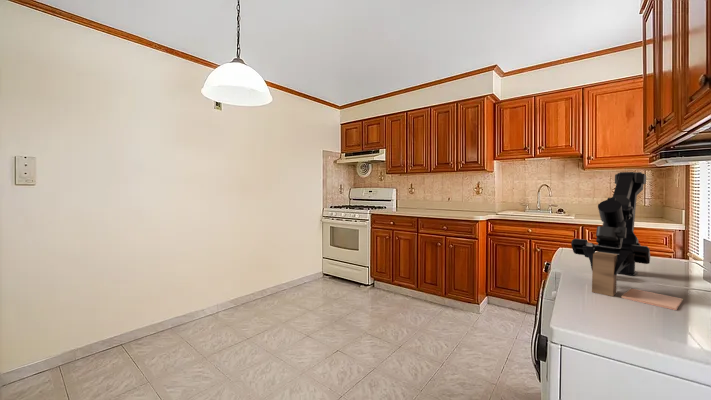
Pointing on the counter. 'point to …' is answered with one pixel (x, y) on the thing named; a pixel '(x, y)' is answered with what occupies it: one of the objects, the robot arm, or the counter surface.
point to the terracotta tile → (653, 298)
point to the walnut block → (604, 273)
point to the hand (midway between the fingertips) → (603, 272)
